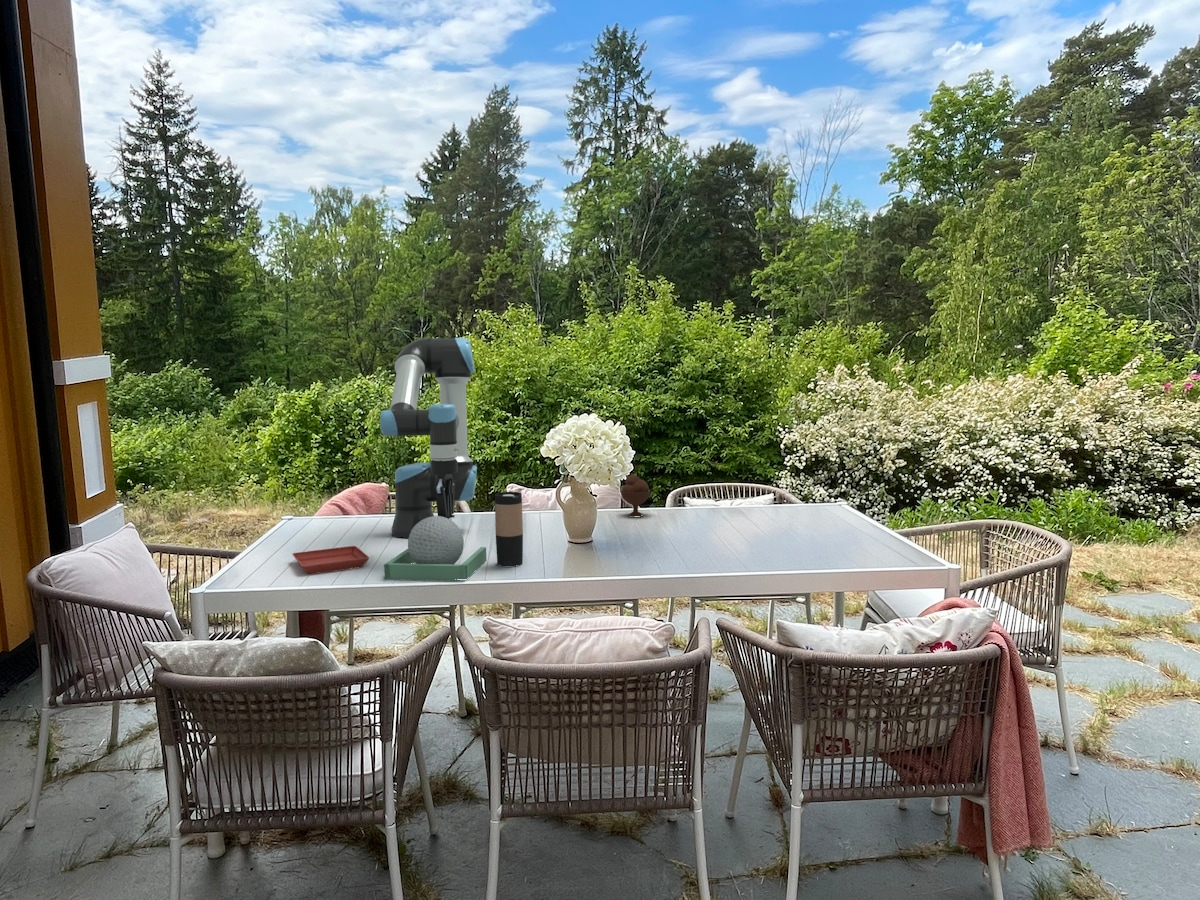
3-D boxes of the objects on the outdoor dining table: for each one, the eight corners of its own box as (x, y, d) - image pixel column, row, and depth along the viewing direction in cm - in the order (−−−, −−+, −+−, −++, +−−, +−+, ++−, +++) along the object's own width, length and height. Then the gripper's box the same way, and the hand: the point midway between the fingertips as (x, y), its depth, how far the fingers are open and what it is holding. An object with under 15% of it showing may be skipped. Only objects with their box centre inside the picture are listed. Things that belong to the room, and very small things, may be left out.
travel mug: (498, 560, 234) (496, 491, 232) (525, 560, 234) (523, 491, 232) (494, 567, 226) (492, 496, 224) (521, 567, 226) (520, 496, 224)
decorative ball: (475, 569, 224) (474, 515, 223) (430, 580, 213) (428, 524, 212) (442, 560, 234) (440, 509, 233) (397, 571, 223) (395, 517, 222)
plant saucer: (292, 563, 235) (291, 552, 234) (355, 555, 243) (355, 544, 243) (302, 578, 219) (302, 565, 219) (370, 568, 228) (370, 557, 227)
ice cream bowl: (619, 518, 293) (618, 477, 291) (623, 512, 304) (623, 473, 302) (648, 519, 291) (648, 477, 290) (651, 513, 302) (651, 473, 301)
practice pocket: (412, 559, 236) (411, 545, 236) (486, 560, 234) (486, 547, 233) (384, 579, 215) (384, 564, 215) (465, 581, 213) (465, 566, 212)
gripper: (450, 461, 223) (453, 546, 225) (463, 456, 236) (465, 536, 238) (423, 461, 224) (426, 546, 226) (438, 456, 236) (441, 536, 239)
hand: (446, 541), depth 232 cm, fingers closed
